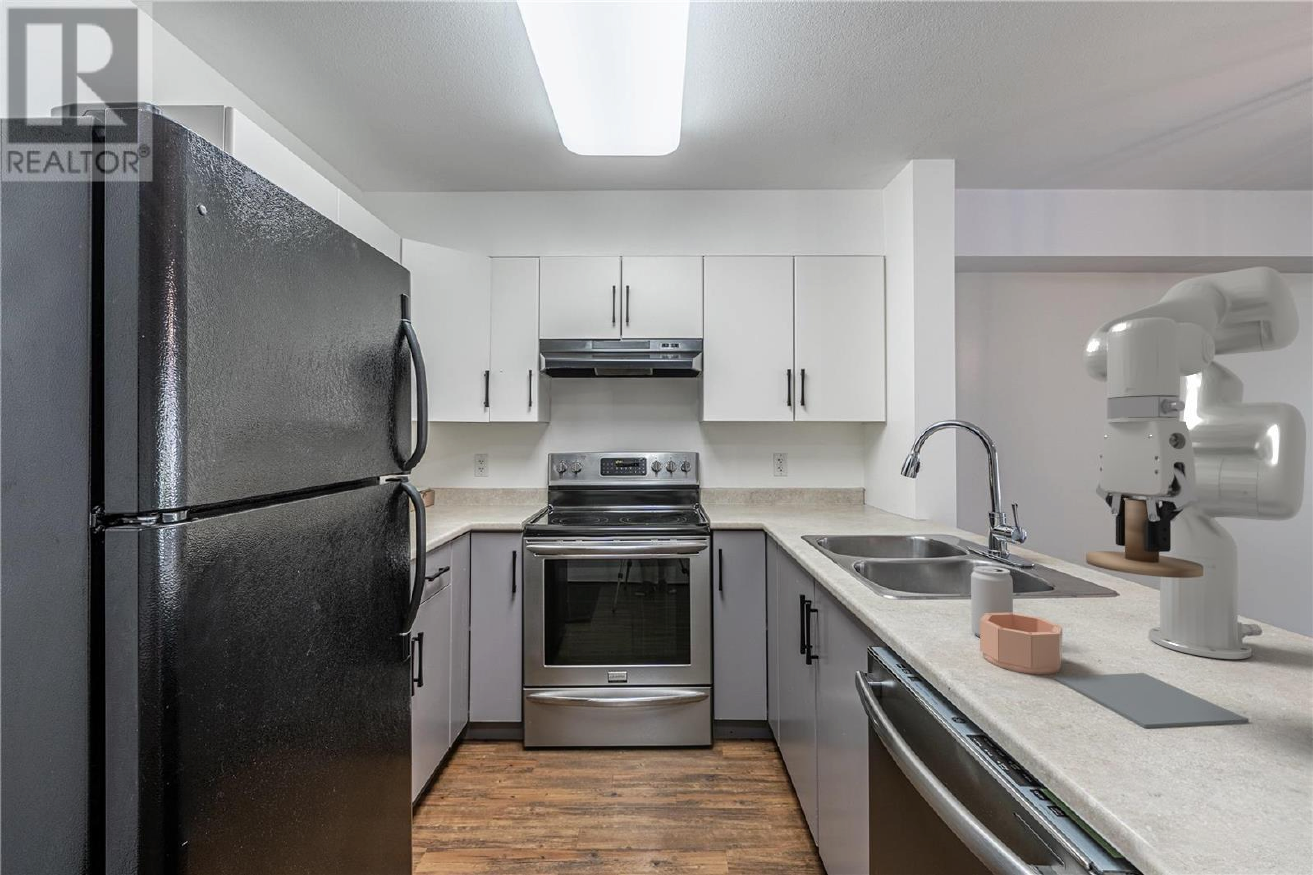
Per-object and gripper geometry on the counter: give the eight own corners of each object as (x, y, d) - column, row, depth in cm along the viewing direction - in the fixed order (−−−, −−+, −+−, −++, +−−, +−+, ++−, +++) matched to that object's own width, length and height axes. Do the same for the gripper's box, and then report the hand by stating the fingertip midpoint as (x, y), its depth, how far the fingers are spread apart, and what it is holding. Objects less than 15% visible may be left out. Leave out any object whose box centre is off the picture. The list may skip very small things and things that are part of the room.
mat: (1143, 675, 85) (1143, 673, 85) (1248, 722, 71) (1248, 719, 71) (1054, 679, 84) (1054, 676, 84) (1144, 727, 70) (1144, 724, 70)
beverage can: (1019, 644, 98) (1019, 573, 98) (978, 641, 99) (978, 572, 99) (1004, 631, 104) (1004, 565, 104) (966, 629, 106) (966, 564, 106)
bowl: (1027, 647, 96) (1027, 611, 96) (1078, 673, 86) (1078, 633, 86) (968, 649, 96) (968, 613, 96) (1012, 676, 85) (1012, 635, 85)
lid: (1141, 557, 84) (1141, 496, 84) (1230, 577, 72) (1230, 505, 72) (1064, 558, 83) (1064, 496, 83) (1142, 578, 71) (1142, 505, 71)
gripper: (1234, 408, 69) (1234, 560, 69) (1114, 415, 86) (1114, 538, 86) (1177, 408, 69) (1177, 561, 69) (1067, 414, 85) (1067, 538, 85)
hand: (1142, 546), depth 77 cm, fingers closed on lid, 3 cm apart
